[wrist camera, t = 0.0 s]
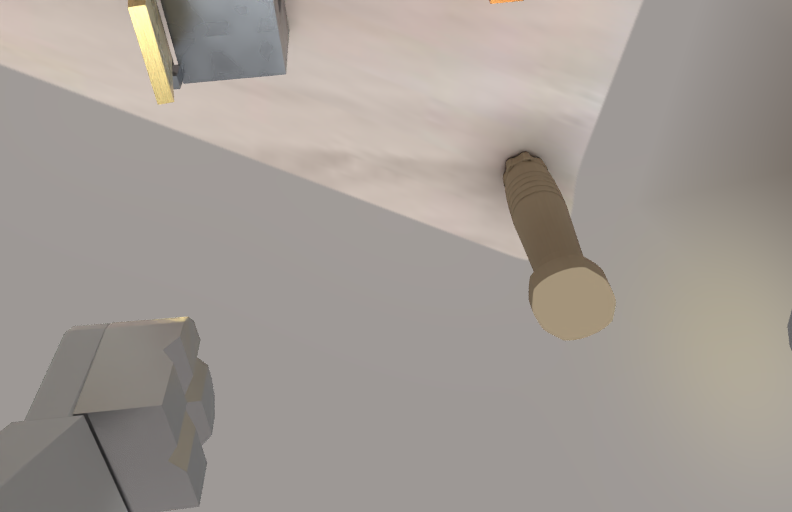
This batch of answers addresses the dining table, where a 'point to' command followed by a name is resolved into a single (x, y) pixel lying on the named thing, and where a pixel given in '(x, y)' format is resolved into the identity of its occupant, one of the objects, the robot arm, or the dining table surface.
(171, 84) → the keeper flap
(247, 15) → the block
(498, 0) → the orange piece
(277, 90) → the dining table surface
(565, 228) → the handle
